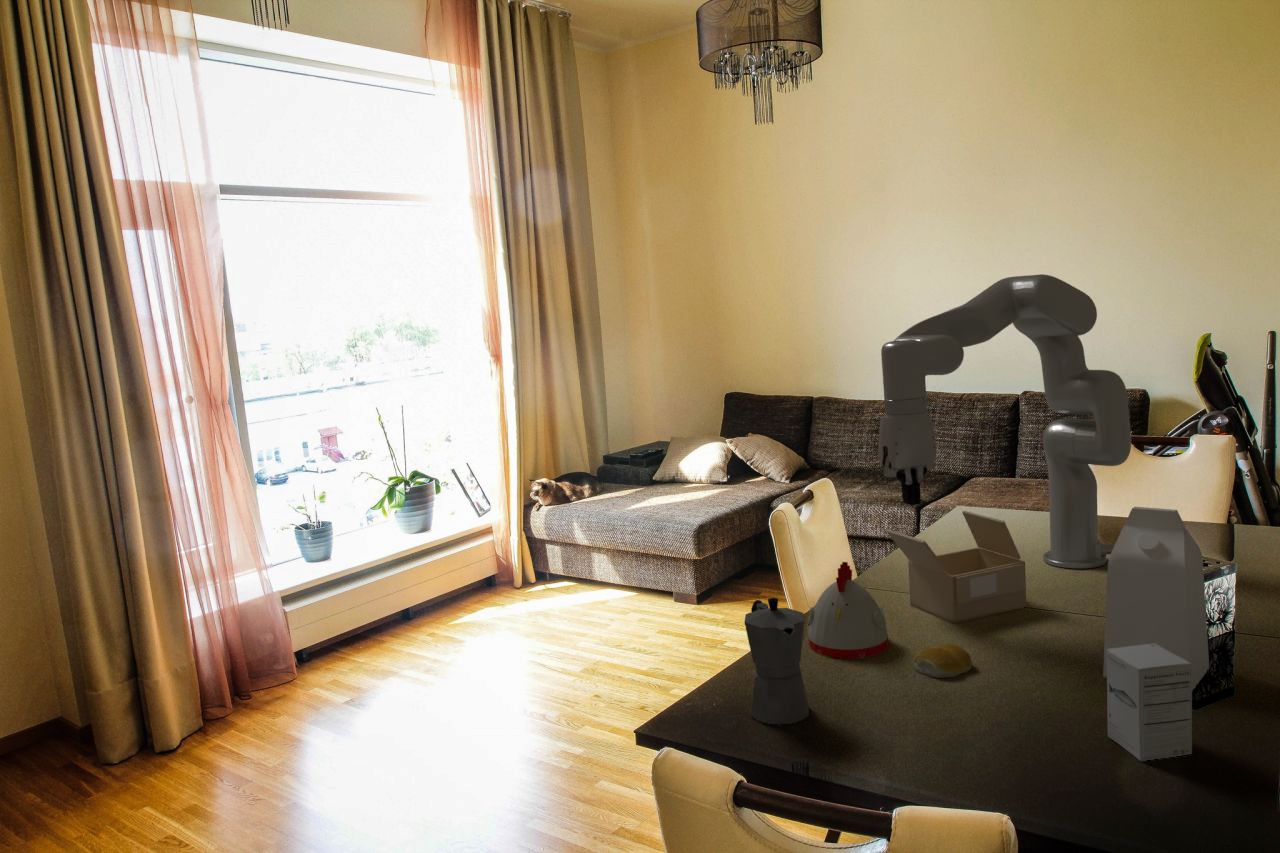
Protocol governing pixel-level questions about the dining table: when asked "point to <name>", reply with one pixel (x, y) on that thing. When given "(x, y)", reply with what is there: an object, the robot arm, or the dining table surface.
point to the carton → (969, 585)
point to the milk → (1157, 589)
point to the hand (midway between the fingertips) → (911, 503)
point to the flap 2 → (991, 534)
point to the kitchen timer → (847, 620)
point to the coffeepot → (776, 663)
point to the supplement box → (1149, 701)
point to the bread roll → (942, 661)
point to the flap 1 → (917, 551)
